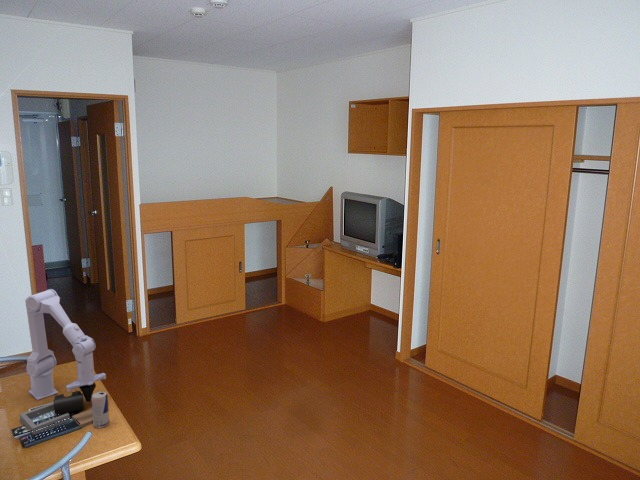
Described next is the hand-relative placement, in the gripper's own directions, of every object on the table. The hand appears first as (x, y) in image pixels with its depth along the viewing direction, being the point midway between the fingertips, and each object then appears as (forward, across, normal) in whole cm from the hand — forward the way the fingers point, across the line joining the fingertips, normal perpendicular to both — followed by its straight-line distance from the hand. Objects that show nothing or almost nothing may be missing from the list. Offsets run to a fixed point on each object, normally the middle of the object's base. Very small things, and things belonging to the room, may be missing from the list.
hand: (88, 401), depth 195 cm
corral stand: (+1, -16, 0) cm, 16 cm away
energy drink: (+2, -3, -17) cm, 17 cm away
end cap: (+2, -7, 0) cm, 7 cm away
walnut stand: (+1, -5, -10) cm, 11 cm away
